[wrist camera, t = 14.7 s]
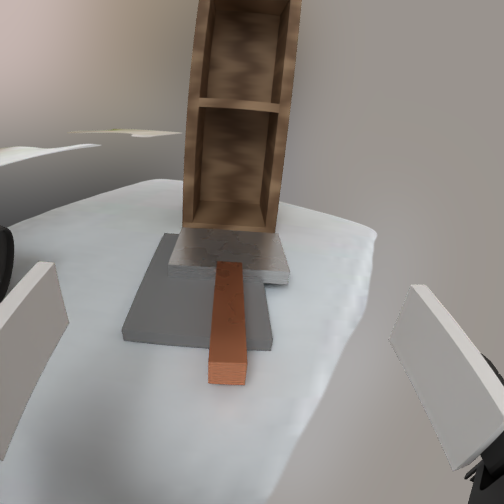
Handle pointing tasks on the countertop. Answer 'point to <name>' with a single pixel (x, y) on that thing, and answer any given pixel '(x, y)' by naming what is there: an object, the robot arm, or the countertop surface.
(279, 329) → the countertop surface
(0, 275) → the coffee cup
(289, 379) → the countertop surface
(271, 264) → the turner
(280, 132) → the shelf stand
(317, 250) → the countertop surface
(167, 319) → the mat
